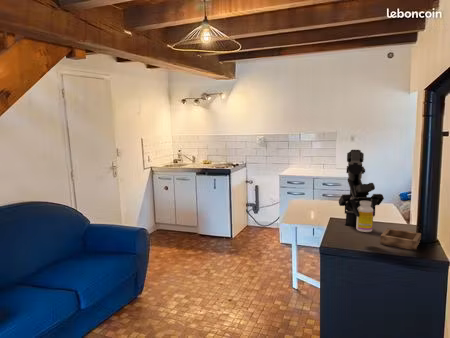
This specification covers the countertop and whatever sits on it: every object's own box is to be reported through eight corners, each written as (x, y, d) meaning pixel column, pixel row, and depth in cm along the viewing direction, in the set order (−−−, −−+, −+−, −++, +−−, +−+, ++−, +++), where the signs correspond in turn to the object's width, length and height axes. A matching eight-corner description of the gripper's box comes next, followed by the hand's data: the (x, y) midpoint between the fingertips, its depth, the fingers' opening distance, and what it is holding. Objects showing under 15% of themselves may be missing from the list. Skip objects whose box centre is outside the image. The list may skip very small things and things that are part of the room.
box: (380, 243, 155) (380, 235, 155) (387, 236, 166) (387, 228, 166) (415, 250, 147) (416, 241, 146) (420, 241, 158) (421, 233, 158)
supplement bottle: (374, 232, 151) (376, 203, 150) (359, 232, 151) (360, 203, 150) (368, 227, 158) (370, 199, 156) (354, 227, 158) (355, 199, 156)
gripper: (342, 176, 155) (351, 206, 145) (382, 176, 156) (395, 206, 147) (334, 190, 164) (343, 220, 154) (373, 190, 165) (384, 219, 156)
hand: (366, 216), depth 152 cm, fingers closed on supplement bottle, 6 cm apart
